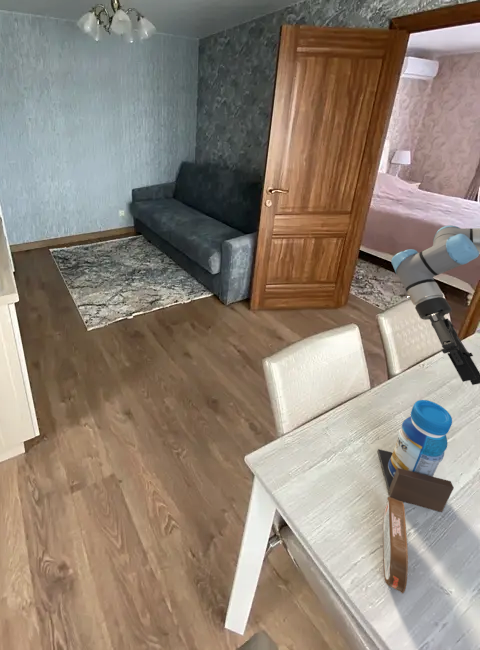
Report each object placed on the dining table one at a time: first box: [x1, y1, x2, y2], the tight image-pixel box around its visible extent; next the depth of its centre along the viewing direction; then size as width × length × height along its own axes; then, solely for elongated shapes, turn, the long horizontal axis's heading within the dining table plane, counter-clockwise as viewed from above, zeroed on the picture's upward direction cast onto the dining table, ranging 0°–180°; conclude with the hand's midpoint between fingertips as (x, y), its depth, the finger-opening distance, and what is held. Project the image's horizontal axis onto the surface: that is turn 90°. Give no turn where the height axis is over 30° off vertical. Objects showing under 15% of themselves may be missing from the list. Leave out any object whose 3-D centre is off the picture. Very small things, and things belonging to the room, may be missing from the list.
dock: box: [376, 448, 454, 513], centre depth 78 cm, size 12×10×8 cm
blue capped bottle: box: [388, 399, 453, 477], centre depth 76 cm, size 8×8×20 cm
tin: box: [382, 496, 409, 594], centre depth 65 cm, size 15×3×8 cm, turn 152°
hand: (474, 382), depth 84 cm, fingers open, 13 cm apart
